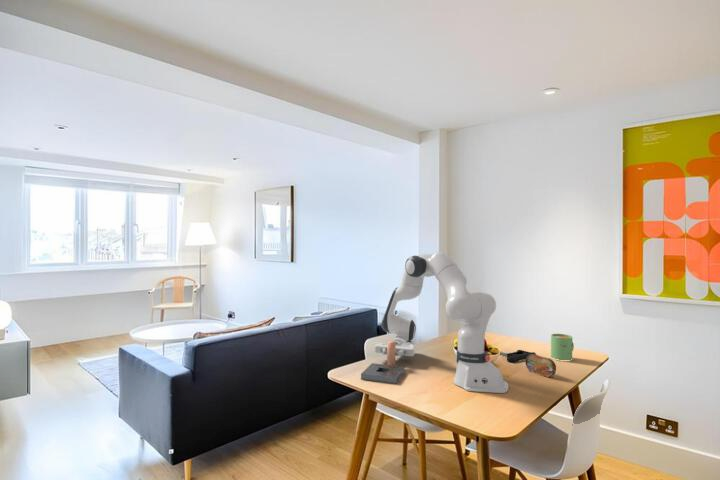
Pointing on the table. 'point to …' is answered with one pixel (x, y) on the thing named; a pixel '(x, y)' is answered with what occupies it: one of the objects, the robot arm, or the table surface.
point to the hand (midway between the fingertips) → (391, 353)
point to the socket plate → (383, 373)
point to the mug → (561, 346)
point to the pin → (391, 352)
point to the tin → (540, 365)
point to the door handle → (516, 355)
